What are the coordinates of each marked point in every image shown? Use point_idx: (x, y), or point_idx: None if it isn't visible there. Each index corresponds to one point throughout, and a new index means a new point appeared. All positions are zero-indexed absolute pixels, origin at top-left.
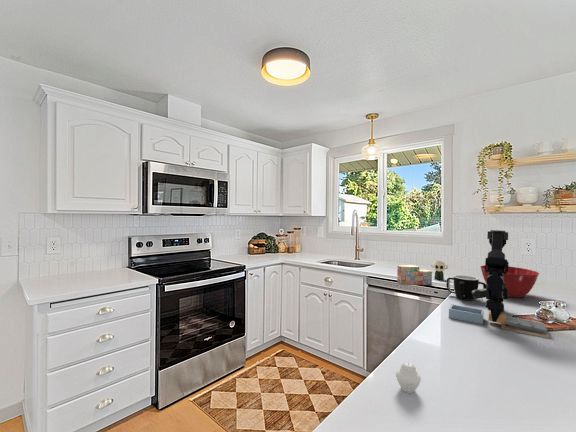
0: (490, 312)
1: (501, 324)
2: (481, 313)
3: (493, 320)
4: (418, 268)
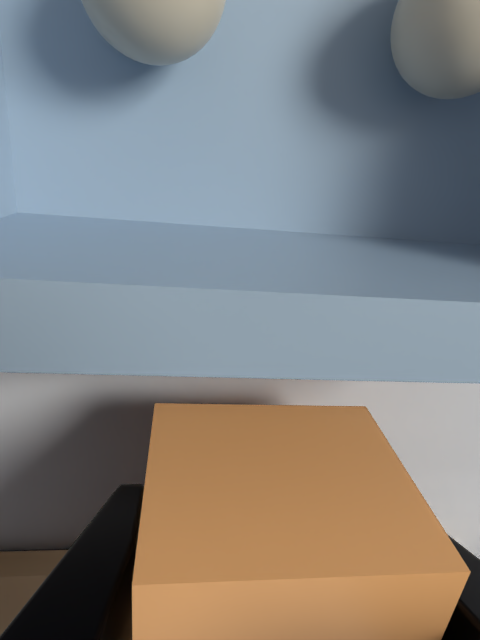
0: (358, 610)
1: None
2: (39, 302)
3: (109, 520)
4: None
